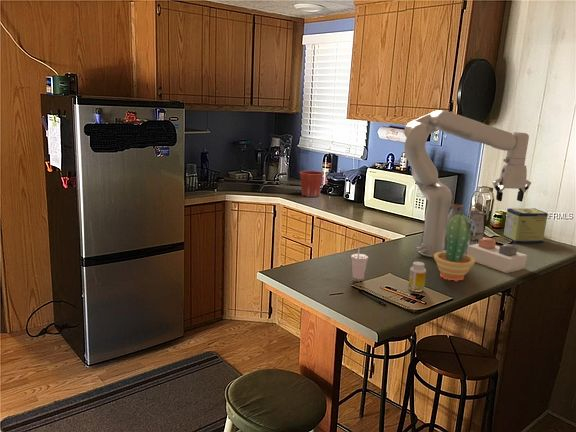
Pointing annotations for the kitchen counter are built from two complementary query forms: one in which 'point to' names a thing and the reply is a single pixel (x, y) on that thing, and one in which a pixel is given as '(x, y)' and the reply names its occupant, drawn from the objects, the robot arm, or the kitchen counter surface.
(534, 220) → the protein box
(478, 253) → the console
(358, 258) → the smoothie
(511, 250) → the charcoal button
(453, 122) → the robot arm
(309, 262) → the kitchen counter surface
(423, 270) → the supplement bottle
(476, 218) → the coffee box
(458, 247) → the potted cactus
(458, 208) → the coffee pot
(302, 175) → the flower pot
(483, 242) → the terracotta button
